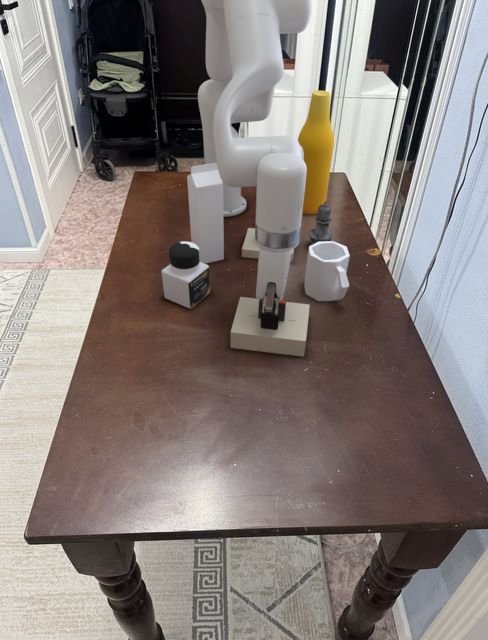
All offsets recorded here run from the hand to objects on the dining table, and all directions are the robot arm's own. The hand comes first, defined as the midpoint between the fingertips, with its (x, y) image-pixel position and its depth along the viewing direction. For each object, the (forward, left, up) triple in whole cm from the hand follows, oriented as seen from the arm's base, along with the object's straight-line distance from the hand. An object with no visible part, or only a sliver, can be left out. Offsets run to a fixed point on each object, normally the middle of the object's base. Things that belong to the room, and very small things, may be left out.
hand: (271, 314), depth 94 cm
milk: (-18, +25, -5) cm, 31 cm away
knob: (0, 0, -1) cm, 1 cm away
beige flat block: (0, 0, -5) cm, 5 cm away
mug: (+11, +15, -5) cm, 19 cm away
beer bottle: (+4, +54, -5) cm, 54 cm away
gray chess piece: (+8, +34, -5) cm, 35 cm away
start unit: (-4, +31, -5) cm, 32 cm away
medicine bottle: (-19, +9, -5) cm, 22 cm away
